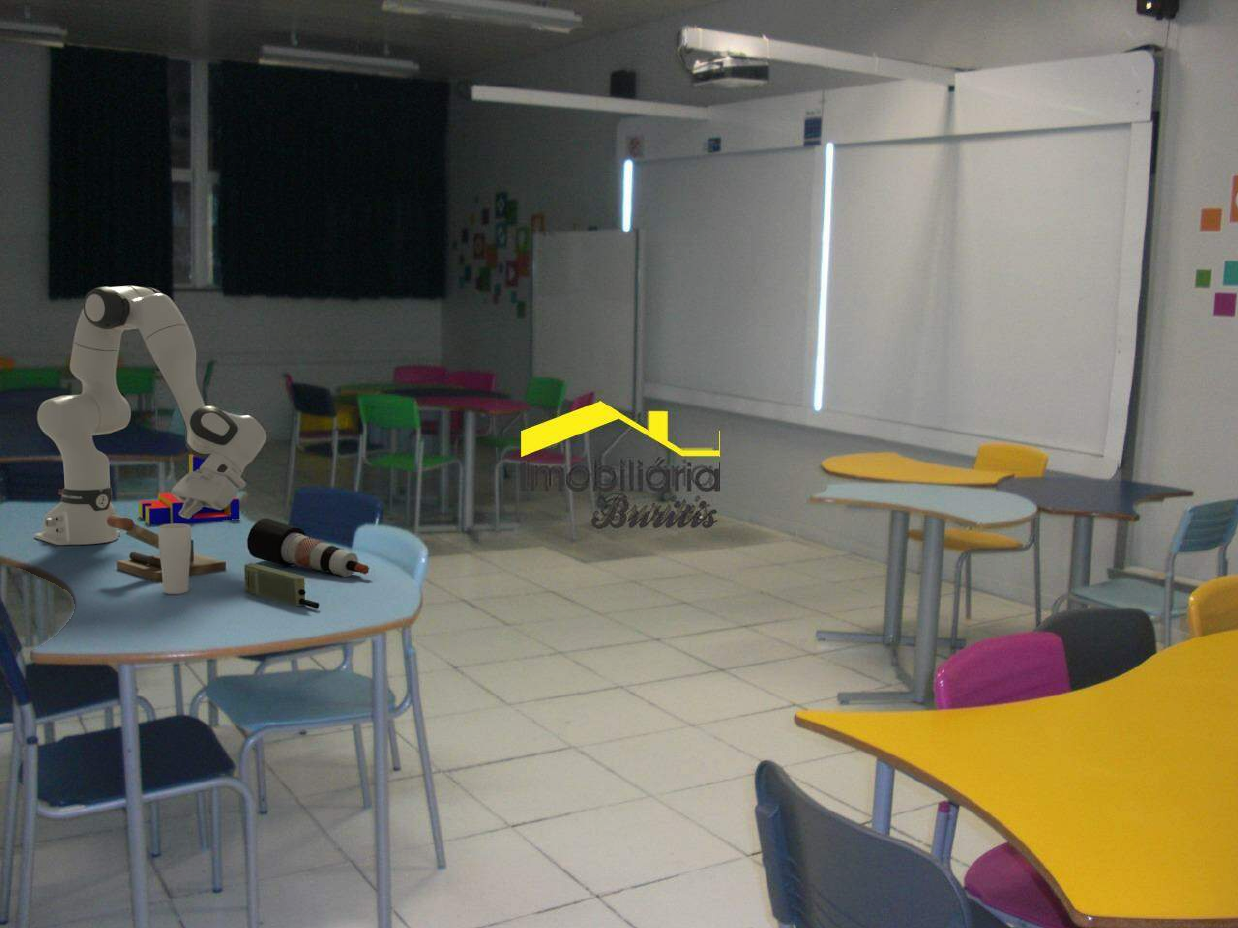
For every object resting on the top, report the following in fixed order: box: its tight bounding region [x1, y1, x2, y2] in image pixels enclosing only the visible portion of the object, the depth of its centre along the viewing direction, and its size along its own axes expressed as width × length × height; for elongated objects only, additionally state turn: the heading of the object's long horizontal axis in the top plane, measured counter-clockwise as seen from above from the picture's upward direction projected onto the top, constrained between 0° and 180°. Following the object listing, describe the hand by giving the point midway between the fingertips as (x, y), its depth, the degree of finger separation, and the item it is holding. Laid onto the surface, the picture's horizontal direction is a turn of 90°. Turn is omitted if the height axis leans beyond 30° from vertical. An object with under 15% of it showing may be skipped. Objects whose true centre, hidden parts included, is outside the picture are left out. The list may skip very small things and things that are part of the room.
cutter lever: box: [107, 514, 159, 550], centre depth 285 cm, size 3×7×20 cm
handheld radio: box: [243, 562, 320, 610], centre depth 263 cm, size 7×3×25 cm
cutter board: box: [116, 539, 227, 582], centre depth 290 cm, size 18×18×7 cm
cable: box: [246, 518, 370, 578], centre depth 293 cm, size 10×34×10 cm, turn 58°
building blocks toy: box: [138, 453, 240, 526], centre depth 357 cm, size 19×25×18 cm
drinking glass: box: [157, 523, 192, 595], centre depth 267 cm, size 7×7×15 cm
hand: (183, 516), depth 291 cm, fingers closed
